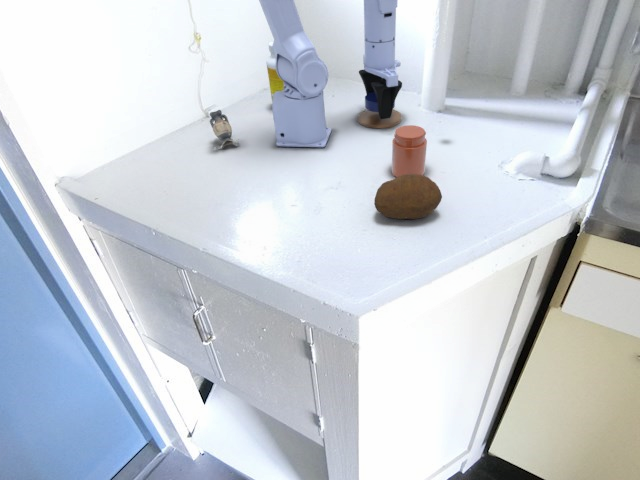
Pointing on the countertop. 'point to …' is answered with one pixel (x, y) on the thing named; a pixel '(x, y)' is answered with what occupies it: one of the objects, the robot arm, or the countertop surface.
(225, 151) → the countertop surface
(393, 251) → the countertop surface
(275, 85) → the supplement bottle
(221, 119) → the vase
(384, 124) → the coaster
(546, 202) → the countertop surface
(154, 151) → the countertop surface
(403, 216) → the potato
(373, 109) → the lid
